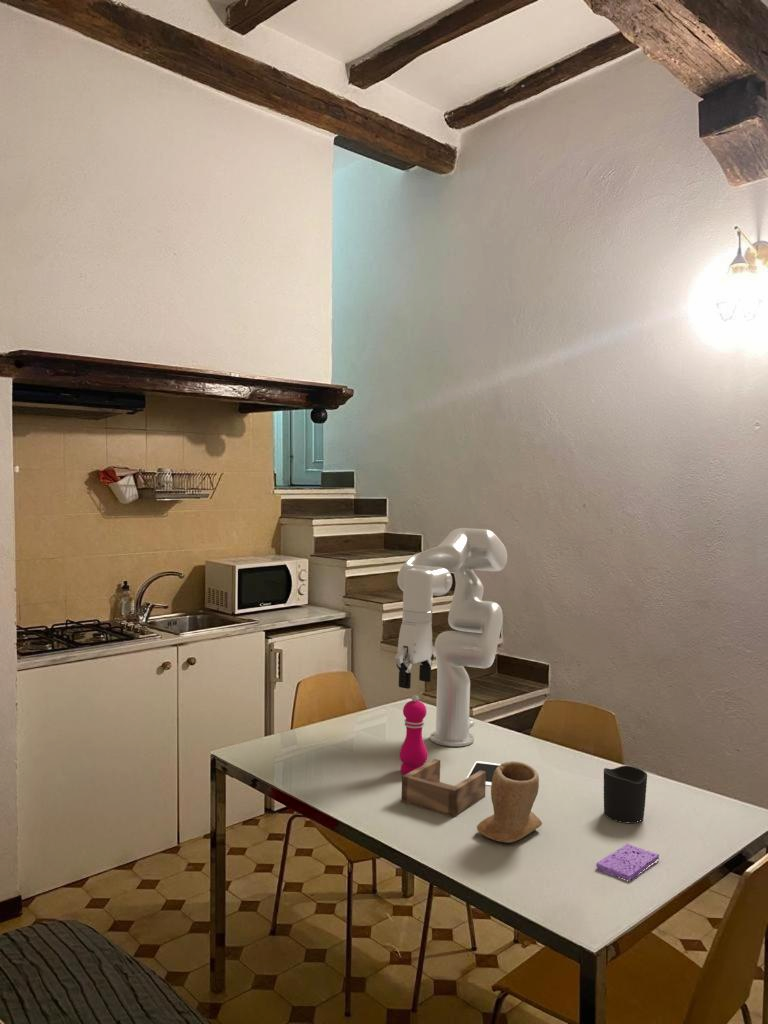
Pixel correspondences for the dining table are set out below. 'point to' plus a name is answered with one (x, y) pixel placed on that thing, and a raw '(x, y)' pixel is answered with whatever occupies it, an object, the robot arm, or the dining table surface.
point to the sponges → (627, 861)
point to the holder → (441, 790)
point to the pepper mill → (413, 736)
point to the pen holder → (625, 793)
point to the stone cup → (512, 803)
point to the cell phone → (486, 767)
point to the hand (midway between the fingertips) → (414, 684)
